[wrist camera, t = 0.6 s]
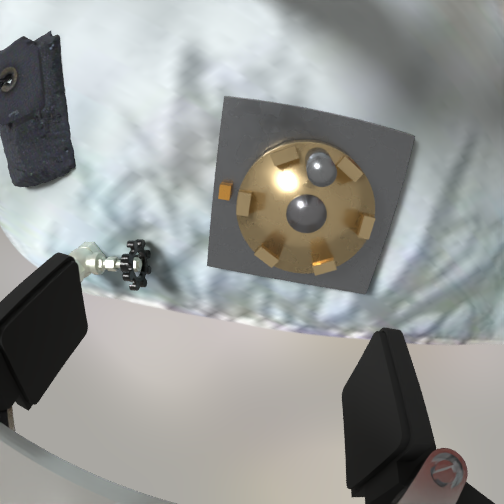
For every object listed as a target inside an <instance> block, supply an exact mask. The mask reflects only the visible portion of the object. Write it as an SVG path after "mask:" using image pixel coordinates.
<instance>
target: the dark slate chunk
mask: <svg viewBox="0 0 504 504" xmlns="http://www.w3.org/2000/svg"><path fill="white" fill-rule="evenodd" d="M11 78H12V81H11V83H5V84H4V82H6V81H7V80H8V79H11ZM3 84H4V85H3ZM64 90H65V88H64V80H63V73H62V64H61V46H60V36H59V35H55V36H52V34H51V31H49V32H48V33H47V34H45V35H43V36H41V37H40V38H38V39H37V40H35V41H32V40H30V39H28V38H26V37H25V36H23V37H21V38H19V39H18V40H16V41H14V42H13V43H12V44H11V45H10V46H8V47H7V48H6V49H4V50H2V51H0V136H1V139H2V143H3V147H4V153H5V155H6V158H7V162H8V169H9V173H10V177H11V179H12V183H13V184H14V185H15V186H18V187H28V186H35V185H38V184H40V183H43V182H44V183H45V182H49V181H51V180H53V179H55V178H57V177H58V176H59V177H60V176H64V175H65V174H66V173H68V172H69V171H70V169H71V168H74V167H75V159H74V150H73V146H72V143H71V139H70V135H71V134H70V126H69V122H68V112H67V104H66V97H65V93H64Z"/></svg>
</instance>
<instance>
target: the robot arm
mask: <svg viewBox="0 0 504 504" xmlns="http://www.w3.org/2000/svg"><path fill="white" fill-rule="evenodd" d="M87 329H88V324H87V319H86V314H85V307H84V301H83V295H82V288H81V281H80V274H79V266H78V264H77V263H76V262H75V259H74V257H72V256H69V255H66V254H62V253H56V254H55V255H53V256H52V257H51V258H50V259H49V260H47V261H46V262H45V263H44V264H43V265H41V266H40V267H39V268H38V269H37V270H35V271H34V272H33V273H32V274H31V275H30V276H29V277H28V278H26V279H25V280H24V281H23V282H22V283H21V284H19V285H18V286H17V287H16V288H15V289H14V290H13V291H12V292H11V293H10V294H8V295H7V296H6V297H5V298H4V299H3V300H2V301H1V302H0V504H176V503H172V502H169V501H166V500H163V499H159V498H156V497H153V496H150V495H147V494H144V493H141V492H138V491H135V490H132V489H129V488H127V487H124V486H121V485H119V484H116V483H114V482H111V481H109V480H106V479H104V478H102V477H99V476H97V475H95V474H92V473H90V472H88V471H86V470H84V469H81V468H79V467H77V466H75V465H73V464H71V463H69V462H67V461H65V460H63V459H61V458H59V457H57V456H55V455H54V454H51V453H50V452H48V451H46V450H44V449H43V448H41V447H39V446H37V445H36V444H34V443H32V442H30V441H29V440H27V439H26V438H24V437H22V436H21V435H19V434H17V433H16V432H15V426H14V418H13V409H12V405H13V404H14V402H15V401H16V403H17V404H18V405H20V406H22V407H23V408H25V409H27V410H29V409H30V408H31V406H32V405H33V404H37V403H38V402H39V400H40V399H41V397H42V396H43V394H44V393H45V391H46V390H47V388H48V387H49V385H50V384H51V382H52V381H53V380H54V378H55V377H56V375H57V374H58V372H59V371H60V370H61V368H62V367H63V365H64V364H65V362H66V361H67V360H68V358H69V357H70V355H71V354H72V353H73V351H74V350H75V349H76V347H77V346H78V345H79V343H80V342H81V340H82V339H83V338H84V336H85V335H86V333H87ZM342 406H343V419H344V435H345V454H346V481H347V482H346V483H347V488H348V489H351V491H352V492H351V493H352V497H365V504H495V503H493V502H492V501H491V500H489V499H488V498H487V497H485V496H484V495H483V494H481V493H480V492H479V491H477V490H476V489H475V488H473V487H472V486H471V485H469V484H468V483H467V482H466V479H467V466H466V463H465V461H464V460H463V458H462V457H461V456H460V455H459V454H458V453H457V452H455V451H453V450H451V449H448V448H441V449H437V450H436V445H435V441H434V437H433V433H432V429H431V425H430V421H429V417H428V414H427V410H426V406H425V403H424V400H423V396H422V392H421V389H420V386H419V382H418V379H417V376H416V373H415V369H414V366H413V363H412V360H411V357H410V354H409V351H408V348H407V345H406V342H405V339H404V336H403V333H402V332H401V331H400V330H396V329H390V328H382V329H381V330H380V331H376V332H375V333H374V334H373V336H372V338H371V340H370V342H369V344H368V346H367V348H366V349H365V351H364V353H363V355H362V357H361V359H360V360H359V362H358V364H357V366H356V368H355V369H354V371H353V373H352V375H351V376H350V378H349V380H348V381H347V383H346V385H345V387H344V389H343V392H342Z"/></svg>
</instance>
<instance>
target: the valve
mask: <svg viewBox="0 0 504 504" xmlns="http://www.w3.org/2000/svg"><path fill="white" fill-rule="evenodd" d="M127 247H130V248H131V251H130V252H129V254H123V255H122V257H121V260H119V259H118V258H117V257H108V258H106V257H105V255H104V254H103V253H102V251H101V250H100V249H99V248H98V246H97V245H96V244H95V243H94V242H84V243H83V244H82V245H80V246H79V248H77V249H75V250H73V251H72V252H71V253H70V254H69V256H72V257H74V259H75V262H76V263H77V264H78V266H79V274H80V281H81V282H82V281H83V279H84V278H86V277H88V276H89V275H90V274H91V273H93V274H95V275H102V274H103V273H104V272H105V270H106V269H107V270H108V271H117V270H118V269H119V268H120V269H121V271H122V272H123V275H122V277H123V280H124V281H130V282H133V284H132V285H129V288H130V290H135V291H138V290H139V288H140V287H146V286H147V280H146V279H145V275H146V274H150V273H151V267H150V266H148V265H147V259H148V258H150V251H149V250H144V247H145V241H144V240H143V239H137V240H136V241H128V242H127ZM137 252H138V253H139V254H138V255H136V253H137ZM141 261H142V262H141ZM140 270H141V272H140V275H139V276H138V277H136V275H135V273H134V272H139V271H140Z"/></svg>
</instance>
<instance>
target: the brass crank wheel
mask: <svg viewBox="0 0 504 504" xmlns="http://www.w3.org/2000/svg"><path fill="white" fill-rule="evenodd" d="M236 215H237V220H238V225H239V228H240V231H241V233H242V235H243V237H244V239H245V241H246V242H247V244H248V245H249V247H250V248H251V249H252V250H253V251H254V255H255V256H256V257H258V258H259V259H260V260H262V261H263V262H264V263H266V264H267V265H268V266H270V267H271V268H272V267H273V266H274V267H276V268H279V269H282V270H285V271H289V272H293V273H305V274H310V273H314V274H315V276H316V275H320V274H323V273H327V272H330V271H334V270H337V268H336V267H337V266H339V265H341V264H343V263H344V262H346V261H348V260H349V259H350V258H351V257H353V256H354V255H355V254H356V253H357V252H358V251H359V250H360V249H361V247H362V246H363V245H364V243H365V242H366V240H367V239H368V240H369V237H370V234H371V231H372V228H373V225H374V221H375V200H374V194H373V191H372V188H371V185H370V183H369V181H368V179H367V177H366V175H365V174H364V172H363V171H362V169H361V168H360V167H359V166H358V165H357V163H356V162H355V161H354V160H353V159H352V158H351V157H350V156H349V155H347V154H346V153H345V152H344V151H342V150H341V149H339V148H337V147H335V146H333V145H331V144H328V143H325V142H322V141H317V140H310V139H300V140H292V141H288V142H284V143H281V144H279V145H277V146H274V147H273V148H271V149H269V150H268V151H266V152H265V153H264V154H262V155H261V156H260V157H259V158H258V159H257V160H256V161H255V162H254V163H253V165H252V166H251V168H250V169H249V170H248V172H247V174H246V176H245V178H244V180H243V181H242V183H241V186H240V189H239V192H238V196H237V204H236Z"/></svg>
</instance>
